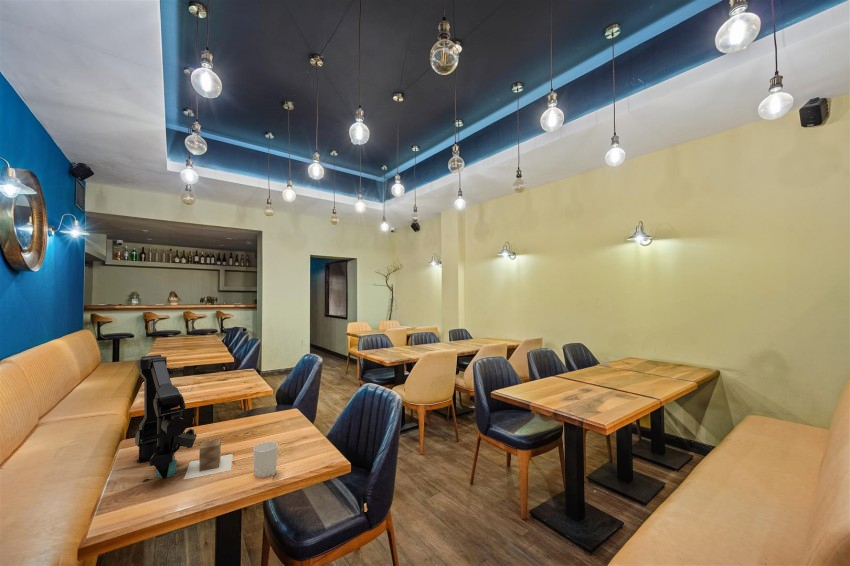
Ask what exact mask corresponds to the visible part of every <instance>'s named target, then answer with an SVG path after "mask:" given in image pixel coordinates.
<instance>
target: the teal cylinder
mask: <svg viewBox="0 0 850 566" xmlns="http://www.w3.org/2000/svg"><path fill="white" fill-rule="evenodd" d="M175 474H177V459H176V458H174V460H173V462H171V463H170V465H169V470H168V474H167V477H166V478H169V477H171V476H174V475H175ZM156 478H157V479H163V478H162V476H161V475H160V473H159V472H158V470H157V469H156ZM166 478H165V479H166Z"/></svg>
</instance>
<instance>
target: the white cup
mask: <svg viewBox="0 0 850 566" xmlns="http://www.w3.org/2000/svg"><path fill="white" fill-rule="evenodd" d="M278 447H279V444H278V443H277V442H275V441H265V442H261V443H260V442H259V443H258V444H256V445H254V446H253V449H252V450H253V454H252V455H253V470H254V476H255V477H256V478H266V477H269V476H271V477H272V476H275V475H276V472H277V465H278V464H277V463H278V462H277V461H278Z"/></svg>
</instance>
